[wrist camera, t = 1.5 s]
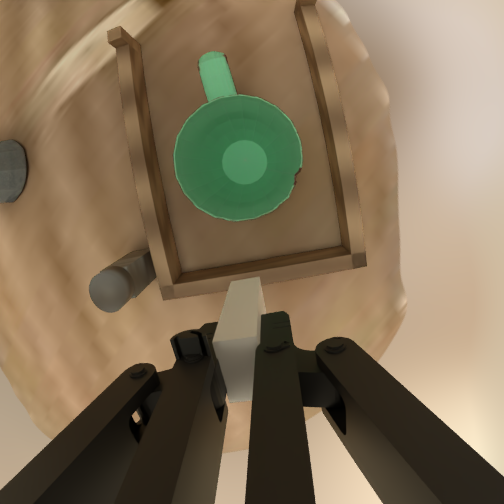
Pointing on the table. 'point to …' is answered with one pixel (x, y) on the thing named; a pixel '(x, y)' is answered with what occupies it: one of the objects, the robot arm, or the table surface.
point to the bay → (154, 204)
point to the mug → (235, 150)
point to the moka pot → (11, 170)
